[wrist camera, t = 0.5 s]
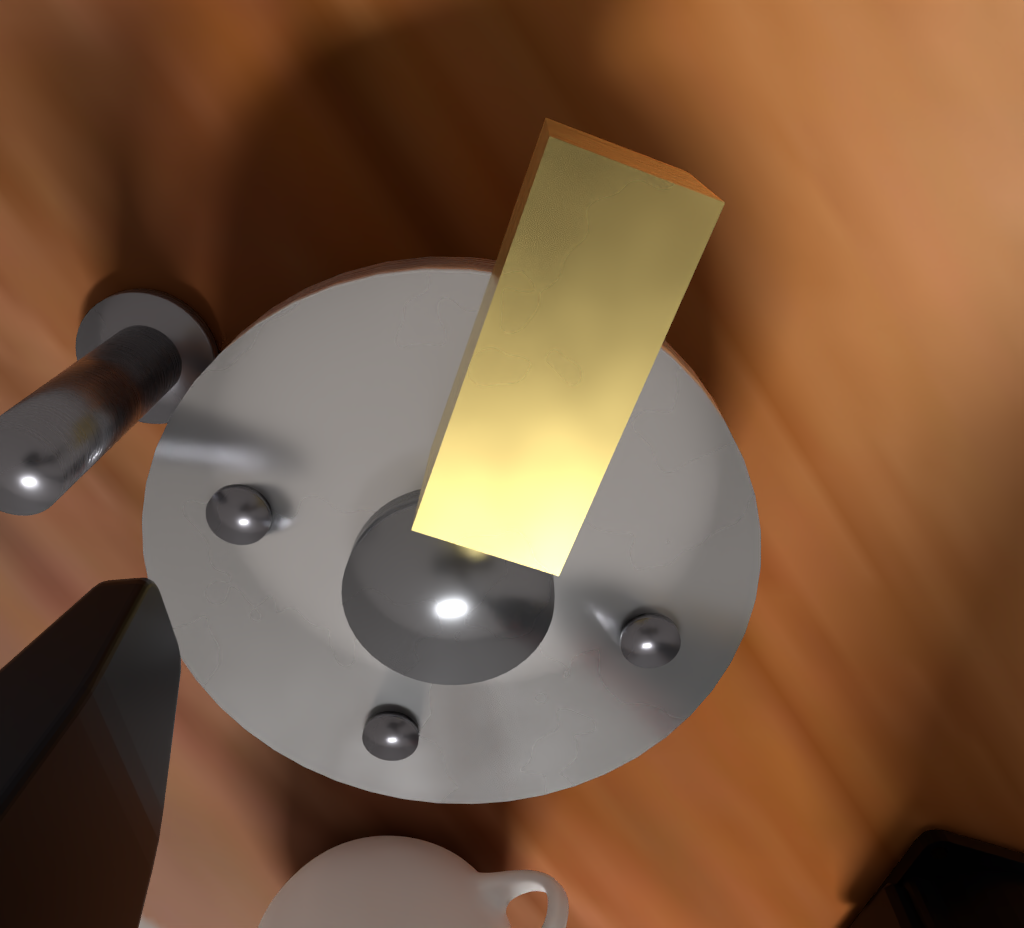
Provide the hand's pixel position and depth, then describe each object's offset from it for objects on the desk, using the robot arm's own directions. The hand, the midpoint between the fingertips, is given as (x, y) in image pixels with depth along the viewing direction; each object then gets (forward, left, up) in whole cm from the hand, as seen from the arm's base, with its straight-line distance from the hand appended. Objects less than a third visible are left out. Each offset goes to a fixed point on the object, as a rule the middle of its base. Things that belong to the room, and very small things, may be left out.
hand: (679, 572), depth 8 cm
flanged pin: (+8, +5, -12) cm, 16 cm away
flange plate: (+1, +5, -9) cm, 10 cm away
